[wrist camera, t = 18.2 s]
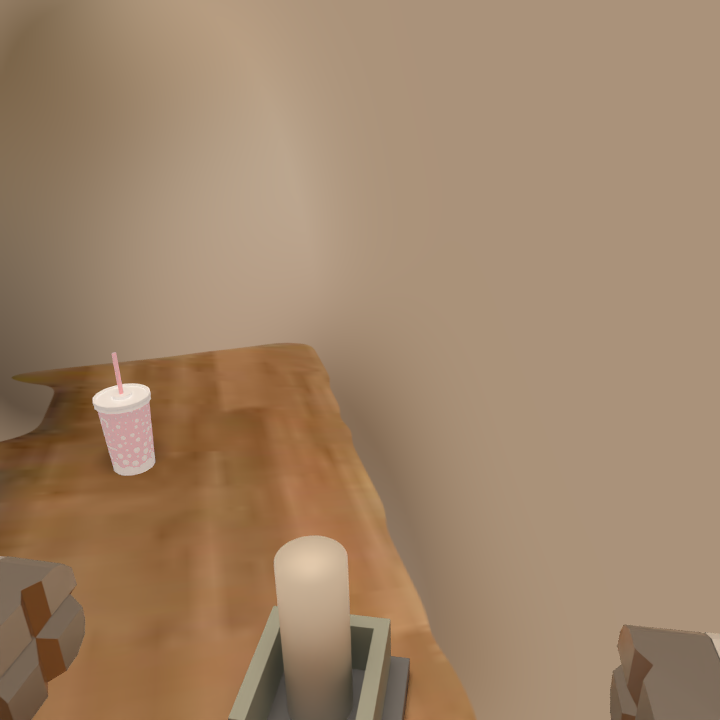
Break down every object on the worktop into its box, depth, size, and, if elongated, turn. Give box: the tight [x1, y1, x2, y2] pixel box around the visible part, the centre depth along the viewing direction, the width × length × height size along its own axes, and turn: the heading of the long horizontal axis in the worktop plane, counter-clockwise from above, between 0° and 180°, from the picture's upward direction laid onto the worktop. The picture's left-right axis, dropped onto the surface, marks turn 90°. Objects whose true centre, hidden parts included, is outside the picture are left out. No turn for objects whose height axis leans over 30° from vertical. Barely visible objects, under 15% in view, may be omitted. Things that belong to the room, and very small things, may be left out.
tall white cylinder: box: [274, 536, 353, 720], centre depth 40 cm, size 4×4×12 cm
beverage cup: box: [93, 352, 155, 475], centre depth 71 cm, size 6×6×14 cm
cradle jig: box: [228, 606, 410, 720], centre depth 40 cm, size 11×13×6 cm
